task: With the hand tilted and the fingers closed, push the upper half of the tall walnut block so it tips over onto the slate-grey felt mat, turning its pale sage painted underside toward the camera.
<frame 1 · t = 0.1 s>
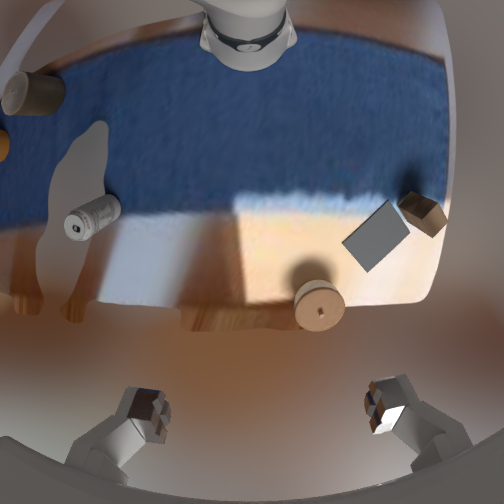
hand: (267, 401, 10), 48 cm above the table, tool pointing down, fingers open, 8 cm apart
felt mat: (377, 237, 57), on the table
pillar candle: (51, 95, 44), on the table
lidded jar: (313, 292, 63), on the table
walnut block: (409, 206, 55), on the table
flower pot: (2, 145, 48), on the table
energy drink can: (111, 206, 55), on the table
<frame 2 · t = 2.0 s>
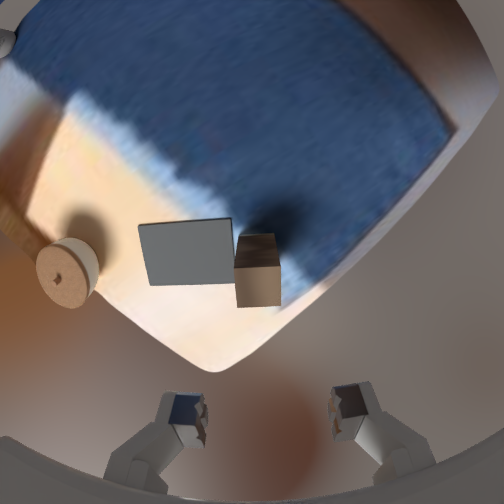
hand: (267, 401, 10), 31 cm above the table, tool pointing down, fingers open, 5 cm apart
felt mat: (186, 254, 41), on the table
lidded jar: (84, 257, 42), on the table
walnut block: (257, 250, 41), on the table
energy drink can: (9, 45, 24), on the table
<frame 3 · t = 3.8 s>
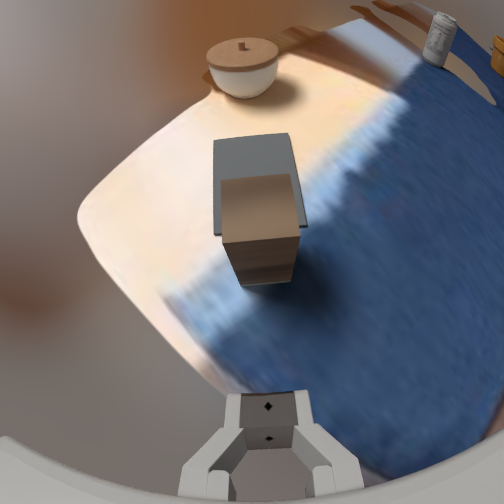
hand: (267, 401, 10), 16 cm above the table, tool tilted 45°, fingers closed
felt mat: (255, 178, 33), on the table
lidded jar: (246, 89, 40), on the table
walnut block: (263, 260, 29), on the table
flower pot: (500, 73, 47), on the table
energy drink can: (432, 62, 45), on the table
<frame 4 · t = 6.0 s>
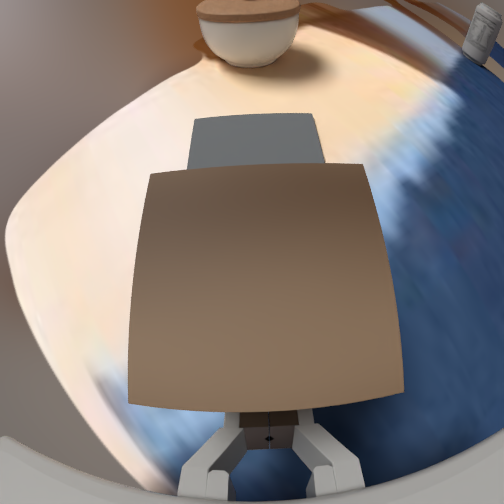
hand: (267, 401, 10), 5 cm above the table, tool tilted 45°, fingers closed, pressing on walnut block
felt mat: (256, 181, 19), on the table
lidded jar: (251, 58, 27), on the table
walnut block: (263, 335, 15), on the table, touching gripper
energy drink can: (471, 59, 32), on the table
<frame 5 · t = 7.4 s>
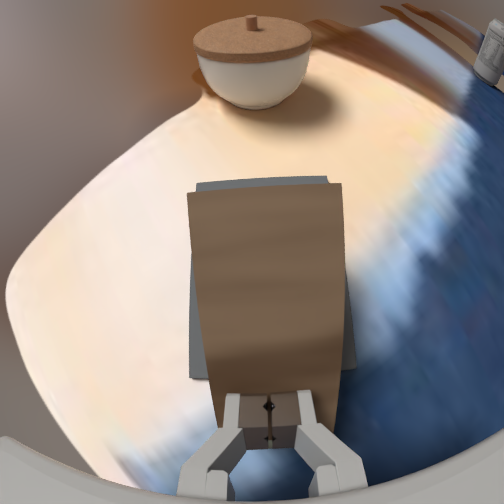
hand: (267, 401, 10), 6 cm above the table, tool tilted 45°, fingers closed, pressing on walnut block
felt mat: (267, 267, 18), on the table
lidded jar: (256, 95, 26), on the table
walnut block: (275, 414, 13), point 2 cm above the table, tilted 58°, touching felt mat, gripper
energy drink can: (483, 79, 31), on the table
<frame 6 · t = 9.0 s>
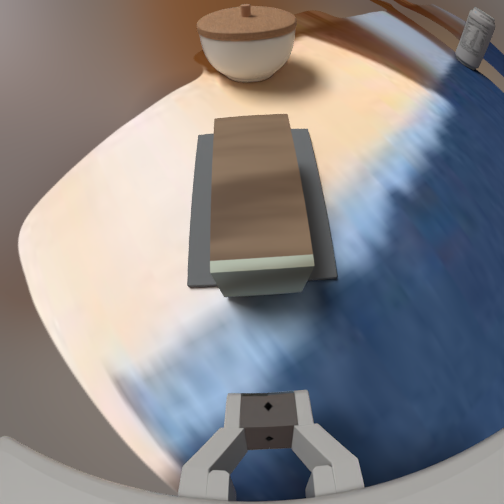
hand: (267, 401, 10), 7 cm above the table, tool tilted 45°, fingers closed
felt mat: (257, 195, 21), on the table
lidded jar: (249, 71, 29), on the table
walnut block: (262, 284, 16), point 3 cm above the table, tilted 90°, touching felt mat
energy drink can: (465, 63, 34), on the table
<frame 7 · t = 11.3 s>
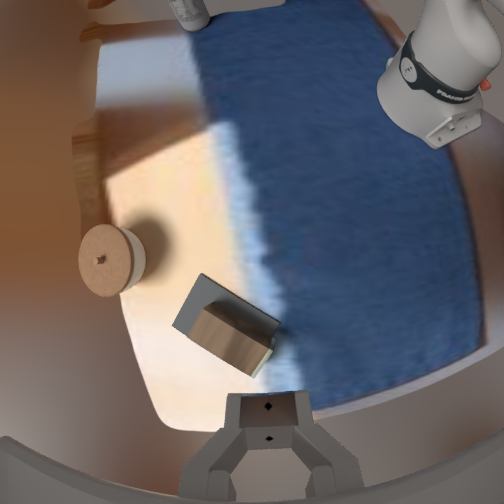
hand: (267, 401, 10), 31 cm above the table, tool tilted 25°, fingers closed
felt mat: (223, 324, 42), on the table
lidded jar: (130, 258, 44), on the table
walnut block: (265, 358, 38), point 3 cm above the table, tilted 90°, touching felt mat
energy drink can: (197, 24, 42), on the table
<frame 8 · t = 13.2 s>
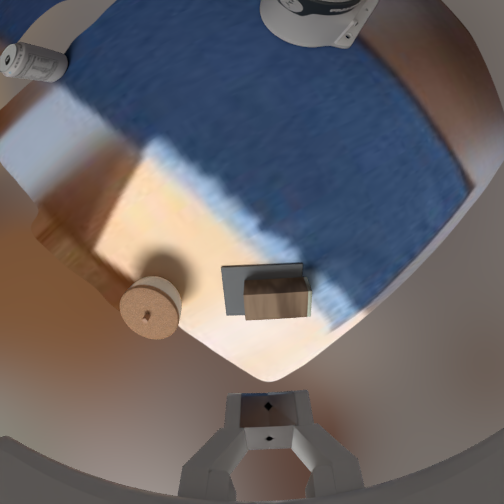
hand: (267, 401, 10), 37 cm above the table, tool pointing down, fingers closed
felt mat: (262, 290, 50), on the table
lidded jar: (160, 291, 51), on the table
walnut block: (308, 296, 47), point 3 cm above the table, tilted 90°, touching felt mat
energy drink can: (59, 68, 34), on the table
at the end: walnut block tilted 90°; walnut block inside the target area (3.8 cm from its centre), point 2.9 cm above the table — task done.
